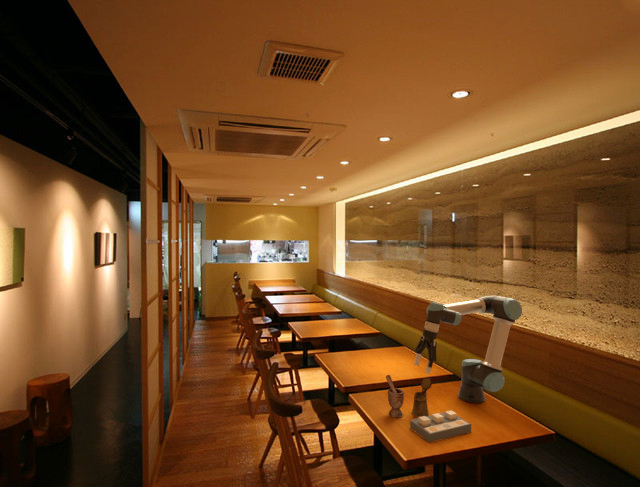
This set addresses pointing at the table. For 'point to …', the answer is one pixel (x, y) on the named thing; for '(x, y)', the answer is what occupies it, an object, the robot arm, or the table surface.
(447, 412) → the button
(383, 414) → the table surface
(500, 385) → the robot arm
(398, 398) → the mortar and pestle
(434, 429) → the button panel
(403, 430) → the table surface
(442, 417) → the button middle
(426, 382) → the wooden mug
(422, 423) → the button
